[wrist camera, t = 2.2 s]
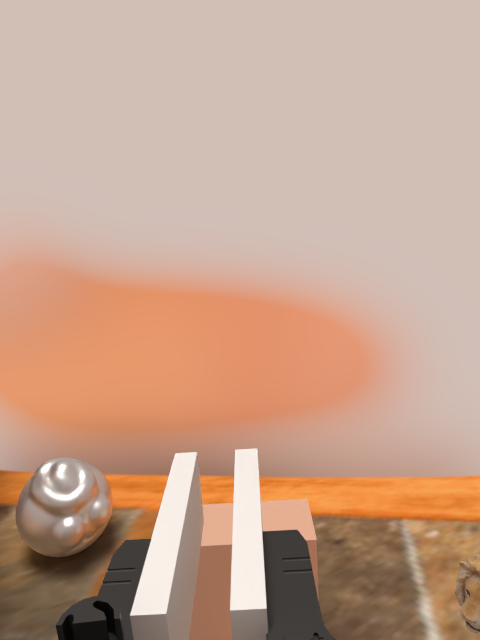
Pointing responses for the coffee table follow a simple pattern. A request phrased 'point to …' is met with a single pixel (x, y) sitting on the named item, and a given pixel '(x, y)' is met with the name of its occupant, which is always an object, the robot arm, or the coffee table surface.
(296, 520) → the peach rectangular block
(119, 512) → the coffee table surface
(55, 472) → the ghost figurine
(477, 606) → the lion figurine
